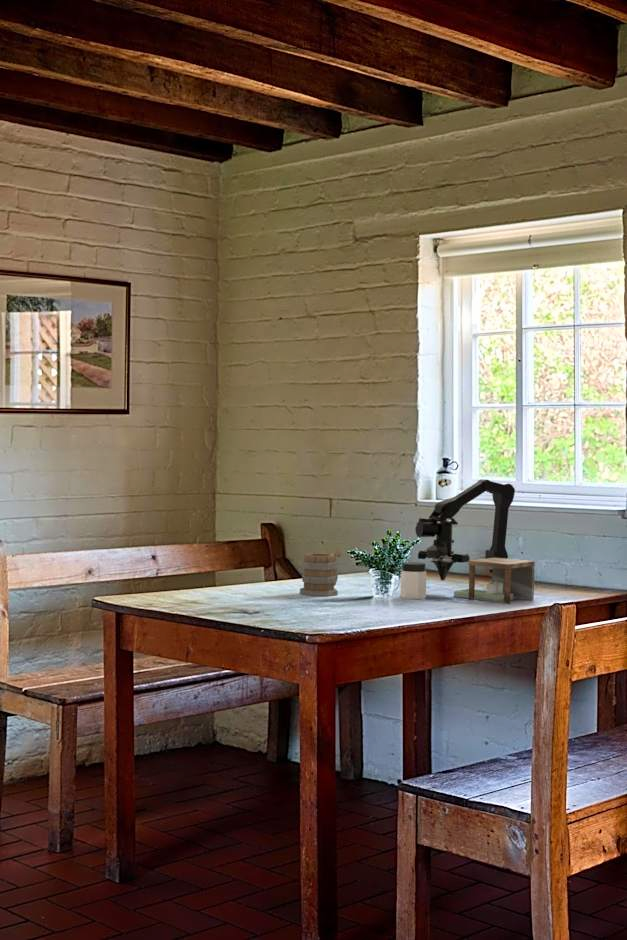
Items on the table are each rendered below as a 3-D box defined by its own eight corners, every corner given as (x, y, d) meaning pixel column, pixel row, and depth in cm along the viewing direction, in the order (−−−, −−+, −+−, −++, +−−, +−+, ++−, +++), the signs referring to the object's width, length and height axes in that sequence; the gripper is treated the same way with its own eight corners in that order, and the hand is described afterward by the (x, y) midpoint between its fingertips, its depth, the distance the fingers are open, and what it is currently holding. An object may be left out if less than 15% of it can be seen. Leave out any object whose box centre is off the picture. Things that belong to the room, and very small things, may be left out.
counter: (493, 595, 458) (494, 557, 458) (533, 599, 448) (534, 561, 448) (467, 599, 444) (468, 560, 443) (508, 604, 434) (509, 564, 434)
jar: (397, 596, 449) (398, 562, 449) (418, 595, 451) (419, 561, 451) (406, 599, 440) (407, 564, 440) (428, 599, 443) (429, 564, 442)
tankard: (322, 597, 440) (323, 554, 440) (293, 594, 448) (294, 551, 447) (355, 592, 456) (356, 550, 456) (327, 589, 464) (328, 548, 463)
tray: (469, 594, 459) (469, 578, 459) (513, 599, 448) (513, 583, 448) (454, 596, 452) (454, 580, 451) (498, 601, 440) (498, 585, 440)
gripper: (409, 536, 459) (408, 579, 460) (454, 540, 448) (453, 584, 448) (426, 534, 468) (425, 577, 468) (470, 538, 457) (469, 582, 457)
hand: (442, 580), depth 460 cm, fingers closed
